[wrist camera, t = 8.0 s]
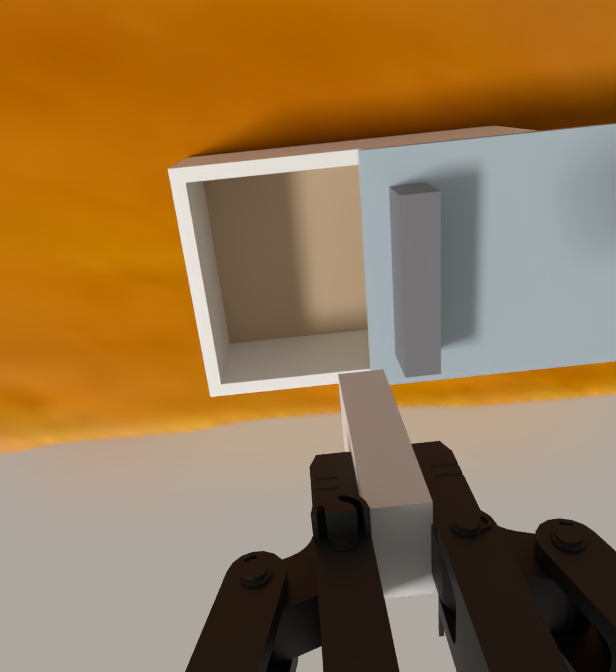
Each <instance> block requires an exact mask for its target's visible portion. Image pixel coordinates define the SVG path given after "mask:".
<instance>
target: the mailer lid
mask: <svg viewBox="0 0 616 672" xmlns="http://www.w3.org/2000/svg"><path fill="white" fill-rule="evenodd" d="M358 166H359V184H360V201H361V218H362V236H363V253H364V271H365V288H366V306H367V323H368V340H369V358H370V371H372V370H382V369H383V370H384V372H385V375H386V378H387V380H388V383H389V385H393V384H403V383H412V382H422V381H431V380H441V379H450V378H460V377H469V376H479V375H488V374H498V373H507V372H517V371H526V370H536V369H545V368H555V367H564V366H574V365H583V364H593V363H602V362H612V361H616V123H611V124H601V125H591V126H582V127H572V128H563V129H553V130H543V131H534V132H524V133H514V134H505V135H495V136H486V137H476V138H466V139H457V140H447V141H437V142H428V143H418V144H409V145H399V146H389V147H380V148H370V149H360V150H358Z"/></svg>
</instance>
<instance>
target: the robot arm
mask: <svg viewBox="0 0 616 672" xmlns="http://www.w3.org/2000/svg"><path fill="white" fill-rule="evenodd" d="M338 379H339V391H340V403H341V415H342V427H343V438H344V447H345V452H341V453H332V454H322V455H316V456H315V458H314V460H313V462H312V464H311V465H310V477H311V491H312V505H313V506H312V511H311V519H312V529H313V537H312V539H311V541H310V543H309V544H308V545H307V546H306V547H305V548H304V549H303V550H302V551H300V552H299V553H297V554H295V555H293V556H290V557H288V558H285V559H281V558H279V557H278V556H277V555H275V554H274V553H269V552H265V551H259V552H251V553H248V554H246V555H243V556H241V557H240V558H238V559H237V560H236V561H235V562H233V563H232V565H231V566H230V568H229V569H228V571H227V573H226V575H225V577H224V580H223V582H222V584H221V587H220V589H219V592H218V594H217V596H216V599H215V601H214V604H213V606H212V608H211V611H210V613H209V616H208V618H207V621H206V623H205V625H204V628H203V630H202V633H201V635H200V638H199V640H198V642H197V645H196V647H195V649H194V652H193V654H192V657H191V659H190V661H189V664H188V666H187V669H186V671H185V672H296V668H297V663H298V656H300V655H302V654H304V653H307V652H309V651H311V650H313V649H316V648H318V647H320V646H322V658H323V672H399V667H398V662H397V657H396V653H395V648H394V643H393V638H392V633H391V629H390V623H389V618H388V614H387V609H386V604H385V599H384V598H393V597H403V596H412V595H422V594H432V593H434V583H433V581H434V582H435V585H436V588H437V591H438V594H439V636H444V631H445V634H446V637H447V641H448V644H449V647H450V650H451V654H452V657H453V661H454V664H455V667H456V671H457V672H616V551H615V550H614V549H612V547H611V546H609V545H608V544H607V543H606V542H605V541H604V540H603V539H602V538H600V536H598V535H597V534H596V533H595V532H594V531H592V530H591V529H590V528H588V527H587V526H585V525H583V524H581V523H578V522H575V521H573V520H566V519H552V520H547V521H545V522H543V523H542V524H540V525H539V527H538V529H537V530H536V534H533V533H526V532H518V531H513V530H508V529H505V528H502V527H499V526H497V524H496V522H495V521H494V520H493V519H492V518H491V516H489V515H488V514H486V513H484V512H483V511H481V510H480V508H479V506H478V504H477V502H476V500H475V498H474V496H473V494H472V492H471V490H470V487H469V485H468V483H467V481H466V479H465V477H464V475H463V474H462V471H461V469H460V467H459V465H458V462H457V460H456V458H455V456H454V454H453V452H452V451H451V450H450V449H449V448H448V447H446V446H445V445H444V444H443V443H441V442H440V441H435V442H425V443H416V444H411V442H410V440H409V437H408V434H407V431H406V429H405V426H404V424H403V421H402V418H401V416H400V413H399V410H398V407H397V405H396V402H395V399H394V396H393V394H392V391H391V388H390V386H389V383H388V380H387V378H386V375H385V372H384V370H383V369H382V370H372V371H362V372H353V373H343V374H338Z"/></svg>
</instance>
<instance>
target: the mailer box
mask: <svg viewBox="0 0 616 672" xmlns="http://www.w3.org/2000/svg"><path fill="white" fill-rule="evenodd" d="M534 131H538V130H529V129H520V128H511V127H502V126H493V125H492V126H482V127H473V128H463V129H453V130H444V131H434V132H424V133H415V134H405V135H396V136H386V137H376V138H367V139H357V140H347V141H338V142H328V143H318V144H309V145H299V146H290V147H280V148H270V149H261V150H251V151H241V152H232V153H222V154H213V155H203V156H193V157H187V158H186V159H184V160H182V161H181V162H179V163H177V164H175V165H174V166H172V167H170V168H169V169H168V172H169V178H170V183H171V189H172V194H173V199H174V205H175V210H176V215H177V221H178V226H179V231H180V237H181V242H182V247H183V253H184V258H185V263H186V269H187V274H188V279H189V285H190V290H191V295H192V301H193V306H194V311H195V317H196V322H197V327H198V333H199V338H200V343H201V349H202V354H203V359H204V365H205V370H206V376H207V381H208V386H209V392H210V397H214V396H223V395H233V394H242V393H252V392H261V391H271V390H280V389H290V388H299V387H309V386H318V385H328V384H337V383H339V379H338V374H343V373H353V372H362V371H370V358H369V340H368V323H367V306H366V288H365V271H364V253H363V236H362V218H361V201H360V184H359V166H358V150H360V149H370V148H380V147H389V146H399V145H409V144H418V143H428V142H437V141H447V140H457V139H466V138H476V137H486V136H495V135H505V134H514V133H524V132H534Z"/></svg>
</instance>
